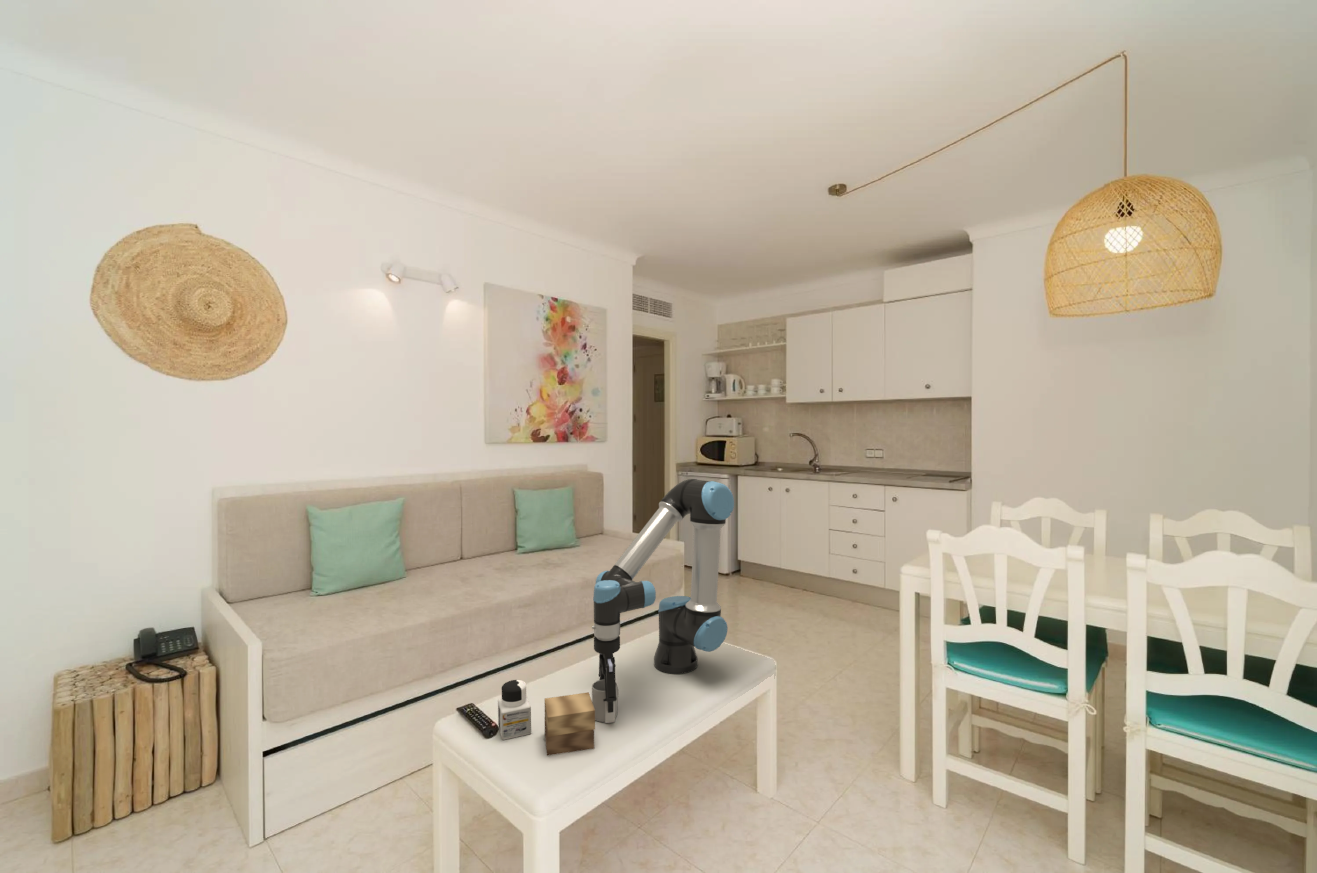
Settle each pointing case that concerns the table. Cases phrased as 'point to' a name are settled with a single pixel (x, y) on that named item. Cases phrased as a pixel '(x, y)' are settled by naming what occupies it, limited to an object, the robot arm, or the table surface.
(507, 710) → the container
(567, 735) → the slab lower
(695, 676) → the table surface
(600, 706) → the cup
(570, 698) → the slab upper
